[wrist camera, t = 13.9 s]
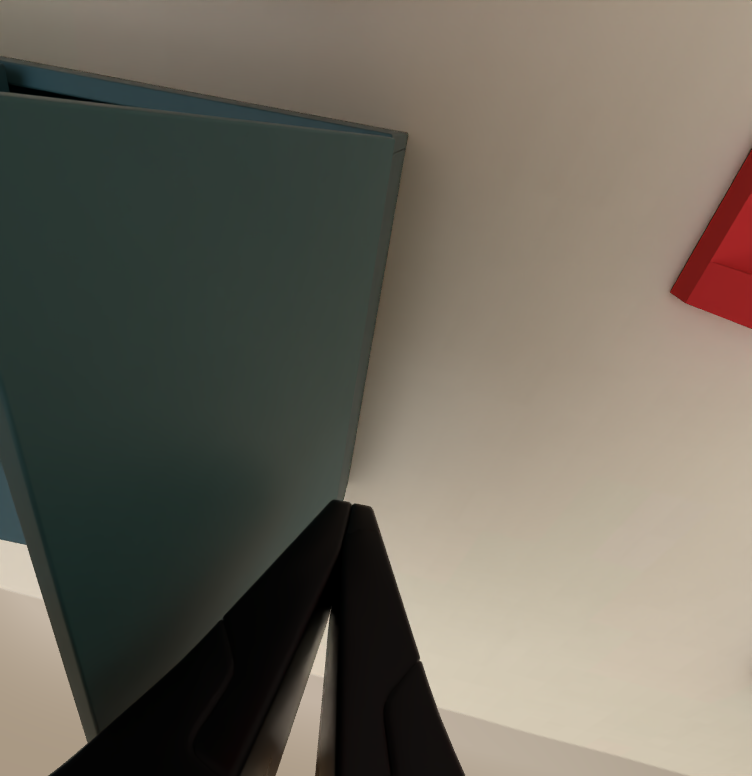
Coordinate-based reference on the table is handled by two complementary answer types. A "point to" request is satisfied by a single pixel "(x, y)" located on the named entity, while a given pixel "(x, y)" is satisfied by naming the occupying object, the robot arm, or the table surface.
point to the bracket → (724, 257)
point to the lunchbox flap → (172, 363)
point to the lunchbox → (116, 91)
